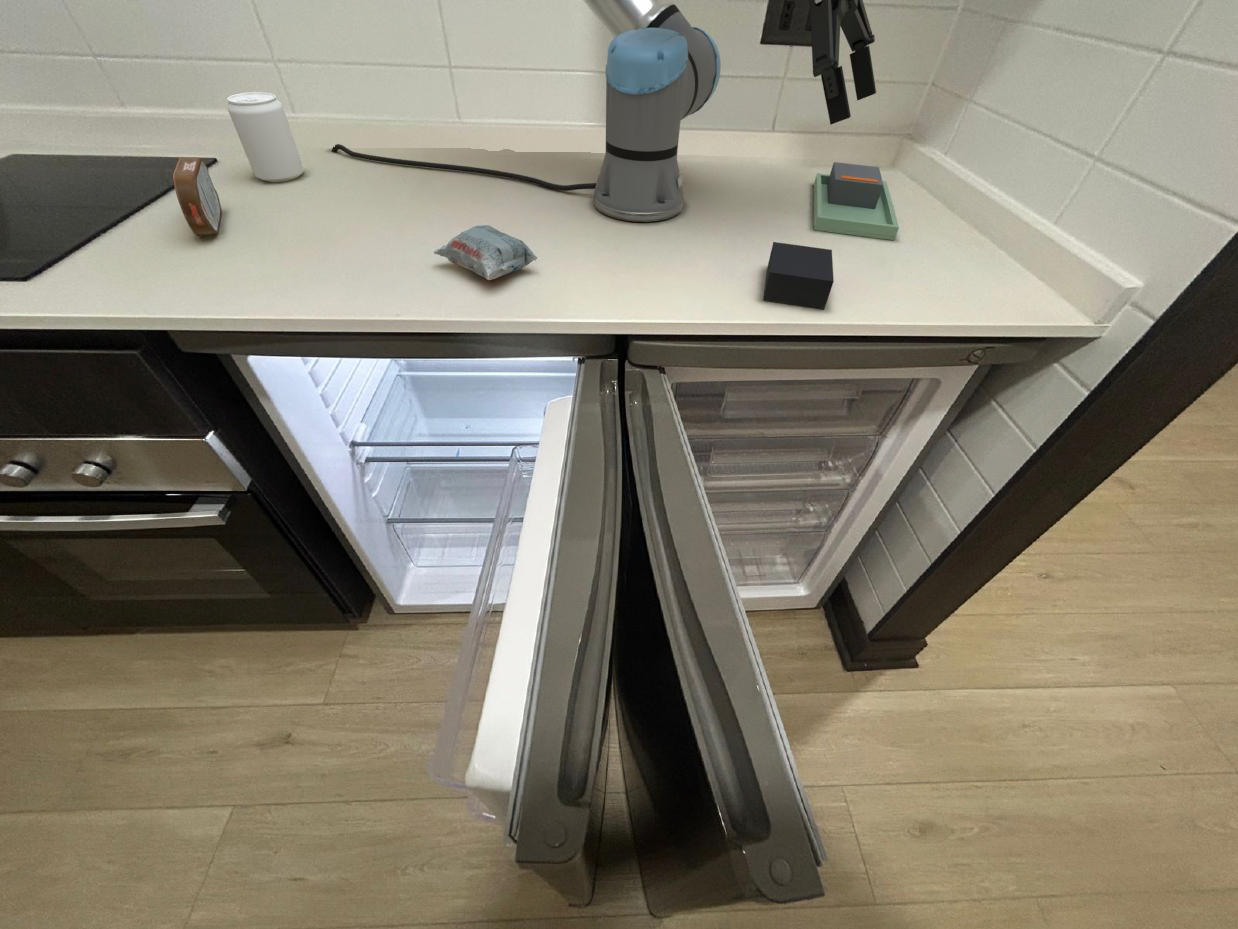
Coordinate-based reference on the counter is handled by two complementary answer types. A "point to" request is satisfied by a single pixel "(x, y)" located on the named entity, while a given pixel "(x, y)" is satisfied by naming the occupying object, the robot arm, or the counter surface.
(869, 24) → the robot arm
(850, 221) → the green tray
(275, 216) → the counter surface
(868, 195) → the pad
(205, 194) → the tin
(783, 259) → the loose pad
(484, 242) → the packaged food
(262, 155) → the beverage can
